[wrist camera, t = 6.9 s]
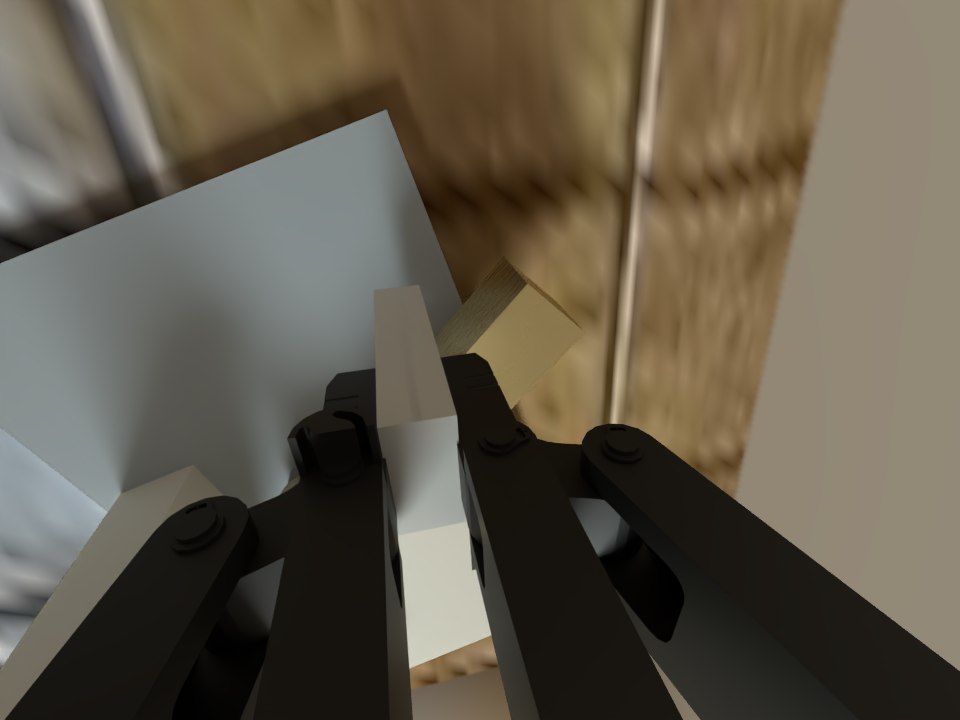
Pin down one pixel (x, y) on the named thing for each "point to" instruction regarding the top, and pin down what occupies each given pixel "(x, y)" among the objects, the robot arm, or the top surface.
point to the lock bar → (508, 332)
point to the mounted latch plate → (219, 360)
